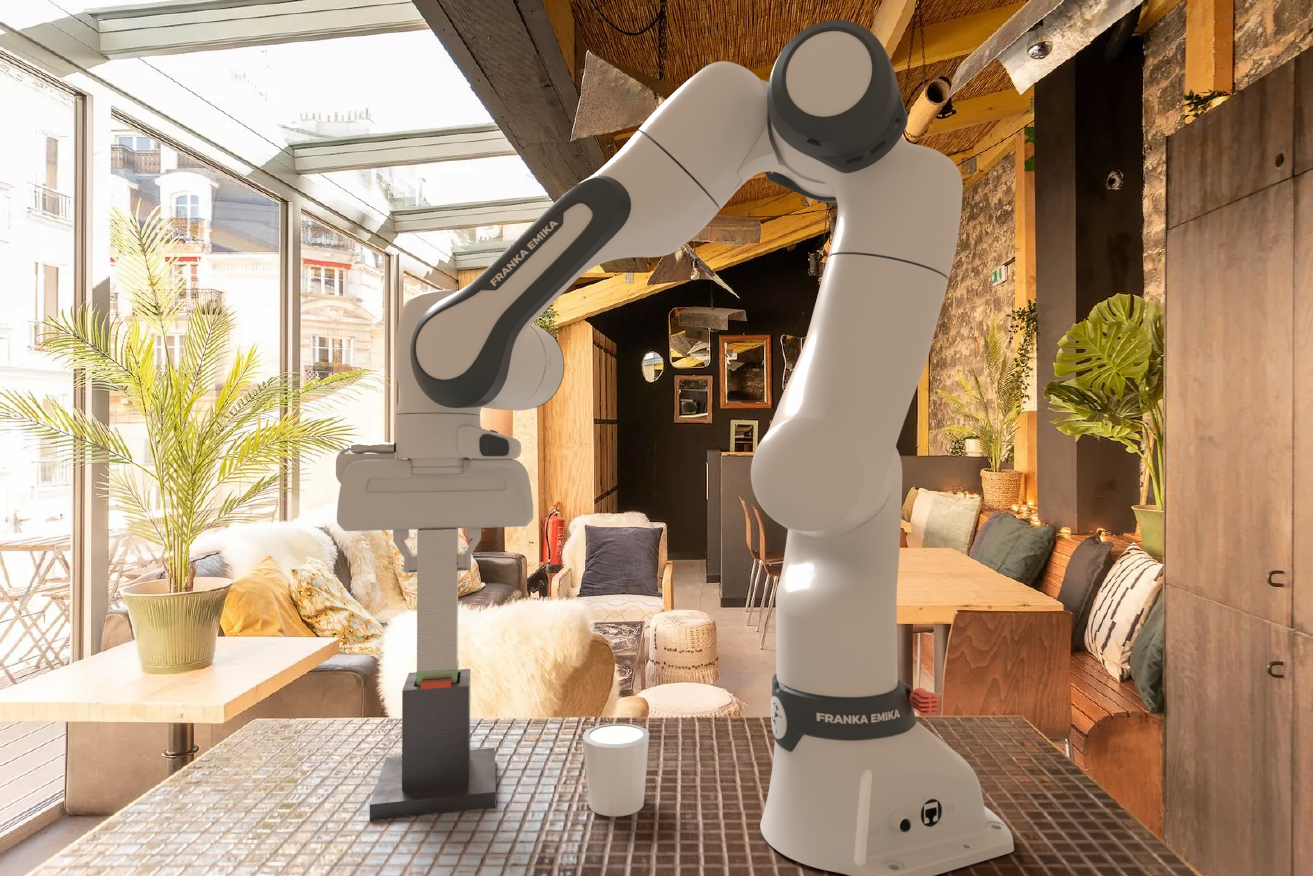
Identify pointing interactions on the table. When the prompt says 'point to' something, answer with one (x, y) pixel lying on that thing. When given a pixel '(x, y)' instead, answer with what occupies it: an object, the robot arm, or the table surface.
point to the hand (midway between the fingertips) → (438, 571)
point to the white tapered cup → (616, 768)
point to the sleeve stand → (435, 755)
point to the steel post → (437, 605)
